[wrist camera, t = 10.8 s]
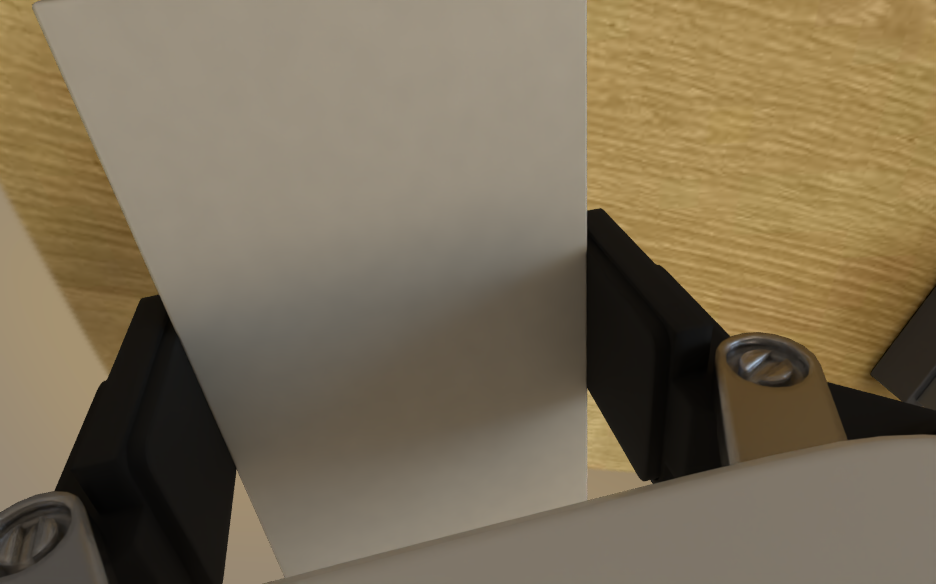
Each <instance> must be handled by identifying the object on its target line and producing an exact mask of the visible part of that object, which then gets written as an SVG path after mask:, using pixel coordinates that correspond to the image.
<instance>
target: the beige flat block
mask: <svg viewBox="0 0 936 584" xmlns="http://www.w3.org/2000/svg"><path fill="white" fill-rule="evenodd" d="M32 8H33V11H34V13H35V16H36V18H37V20H38V22H39V25H40V27H41V29H42V31H43V34H44V36H45V38H46V40H47V43H48V45H49V47H50V49H51V52H52V54H53V56H54V58H55V61H56V63H57V65H58V67H59V70H60V72H61V74H62V76H63V79H64V81H65V83H66V85H67V88H68V90H69V92H70V94H71V97H72V99H73V101H74V103H75V106H76V108H77V110H78V112H79V115H80V117H81V119H82V122H83V124H84V126H85V128H86V131H87V133H88V135H89V137H90V140H91V142H92V144H93V146H94V149H95V151H96V153H97V155H98V158H99V160H100V162H101V164H102V167H103V169H104V171H105V173H106V176H107V178H108V180H109V182H110V185H111V187H112V189H113V191H114V194H115V196H116V198H117V200H118V203H119V205H120V207H121V209H122V212H123V214H124V216H125V218H126V221H127V223H128V225H129V227H130V230H131V232H132V234H133V237H134V239H135V241H136V243H137V246H138V248H139V250H140V252H141V255H142V257H143V259H144V261H145V264H146V266H147V268H148V270H149V273H150V275H151V277H152V279H153V282H154V284H155V286H156V288H157V291H158V293H159V295H160V297H161V300H162V302H163V304H164V306H165V309H166V311H167V313H168V315H169V318H170V320H171V322H172V324H173V327H174V329H175V331H176V333H177V335H178V337H179V339H180V341H181V344H182V346H183V348H184V350H185V353H186V355H187V357H188V359H189V362H190V364H191V366H192V368H193V371H194V373H195V375H196V378H197V380H198V382H199V384H200V387H201V389H202V391H203V393H204V396H205V398H206V400H207V402H208V405H209V407H210V409H211V411H212V414H213V416H214V418H215V420H216V423H217V425H218V427H219V429H220V432H221V434H222V436H223V438H224V441H225V443H226V445H227V447H228V450H229V452H230V454H231V457H232V459H233V461H234V463H235V466H236V468H237V471H238V473H239V476H240V478H241V480H242V482H243V485H244V487H245V489H246V491H247V494H248V496H249V498H250V500H251V502H252V505H253V507H254V509H255V512H256V514H257V516H258V518H259V521H260V523H261V525H262V527H263V530H264V532H265V534H266V536H267V539H268V541H269V543H270V545H271V548H272V550H273V552H274V554H275V557H276V559H277V561H278V563H279V566H280V568H281V570H282V572H283V575H284V577H285V578H287V577H291V576H294V575H298V574H302V573H306V572H310V571H314V570H317V569H321V568H325V567H329V566H333V565H336V564H340V563H344V562H348V561H352V560H356V559H360V558H364V557H367V556H371V555H375V554H379V553H383V552H387V551H391V550H395V549H399V548H402V547H406V546H410V545H414V544H418V543H422V542H426V541H430V540H434V539H438V538H441V537H445V536H449V535H453V534H457V533H461V532H465V531H469V530H473V529H477V528H481V527H485V526H488V525H492V524H496V523H500V522H504V521H508V520H512V519H516V518H520V517H524V516H528V515H532V514H535V513H539V512H543V511H547V510H551V509H555V508H559V507H563V506H567V505H571V504H575V503H579V502H583V501H587V0H40V1H38V2H35V3H34V4H32Z"/></svg>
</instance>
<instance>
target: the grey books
mask: <svg viewBox="0 0 936 584" xmlns="http://www.w3.org/2000/svg"><path fill="white" fill-rule="evenodd" d="M870 375H871V376H872V377H874V378H875V379H876V380H877V381H878V382H880V383H881V384H882V385H883V386H884V387H886V388H887V389H888V390H889V391H890V392H892V393H893V394H894V395H895V396H896V397H898V398H899V399H900V400H901V401H902V402H905V403H909V404H913V405H917V406H923V407H925V408H928V409H932V410H936V287H935V288H934V290H933V291H932V292H931V294H930V295H929V296H928V298H927V299H926V300H925V301H924V303H923V304H922V305H921V307H920V308H919V309H918V311H917V312H916V313H915V315H914V316H913V317H912V319H911V320H910V321H909V323H908V324H907V325H906V327H905V328H904V329H903V331H902V332H901V333H900V335H899V336H898V337H897V339H896V340H895V341H894V343H893V344H892V345H891V347H890V348H889V349H888V351H887V352H886V353H885V355H884V356H883V357H882V359H881V360H880V361H879V363H878V364H877V365H876V367H875V368H874V369H873V371H872V372H871V373H870Z"/></svg>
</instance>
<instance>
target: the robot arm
mask: <svg viewBox="0 0 936 584" xmlns="http://www.w3.org/2000/svg"><path fill="white" fill-rule="evenodd" d="M587 388H588V390H589V392H590V393H591V395H592V397H593V399H594V400H595V402H596V404H597V406H598V407H599V409H600V411H601V412H602V414H603V416H604V418H605V419H606V421H607V423H608V425H609V426H610V428H611V430H612V432H613V433H614V435H615V437H616V439H617V440H618V442H619V444H620V445H621V447H622V449H623V451H624V452H625V454H626V456H627V458H628V459H629V461H630V463H631V465H632V466H633V468H634V470H635V472H636V473H637V475H638V476H639V478H640V479H641V480H642V481H648V480H651V482H652V483H653V484H651V485H647V486H643V487H639V488H635V489H631V490H627V491H623V492H619V493H615V494H612V495H607V496H603V497H599V498H595V499H591V500H587V501H583V502H579V503H575V504H571V505H567V506H563V507H559V508H555V509H551V510H547V511H543V512H539V513H535V514H532V515H528V516H524V517H520V518H516V519H512V520H508V521H504V522H500V523H496V524H492V525H488V526H485V527H481V528H477V529H473V530H469V531H465V532H461V533H457V534H453V535H449V536H445V537H441V538H438V539H434V540H430V541H426V542H422V543H418V544H414V545H410V546H406V547H402V548H399V549H395V550H391V551H387V552H383V553H379V554H375V555H371V556H367V557H364V558H360V559H356V560H352V561H348V562H344V563H340V564H336V565H333V566H329V567H325V568H321V569H317V570H314V571H310V572H306V573H302V574H298V575H294V576H291V577H287V578H283V579H280V580H275V581H271V582H268V583H264V584H936V410H932V409H928V408H925V407H921V406H917V405H913V404H909V403H905V402H902V401H898V400H894V399H890V398H886V397H883V396H879V395H875V394H871V393H867V392H863V391H860V390H856V389H852V388H848V387H844V386H840V385H837V384H833V383H829V382H827V381H826V378H825V375H824V373H823V370H822V367H821V364H820V363H819V361H818V360H817V358H816V356H815V355H814V354H813V353H812V352H811V351H809V350H808V349H807V348H806V347H805V346H803V345H801V344H799V343H797V342H795V341H793V340H791V339H789V338H786V337H782V336H779V335H776V334H769V333H761V332H753V333H742V334H738V335H734V336H731V337H730V336H729V335H728V334H727V333H726V331H725V330H724V329H723V328H722V327H721V326H720V325H719V324H718V323H717V322H716V321H715V320H714V319H713V318H712V317H711V316H710V315H709V314H708V313H707V312H706V311H705V310H704V309H703V308H702V307H701V306H700V305H699V304H698V303H697V302H696V301H695V300H694V299H693V298H692V296H691V295H690V294H689V293H688V292H687V291H686V290H685V289H684V288H683V287H682V286H681V285H680V284H679V283H678V282H677V281H676V280H675V279H674V278H673V277H672V276H671V275H670V274H669V273H668V272H667V271H666V270H665V269H664V268H663V267H661V266H660V265H656V264H655V263H654V262H653V261H652V260H651V259H650V258H649V257H648V256H647V255H646V254H645V253H644V252H643V251H642V250H641V249H640V248H639V247H638V246H637V245H636V243H635V242H634V241H633V240H632V239H631V238H630V237H629V236H628V235H627V234H626V233H625V232H624V231H623V230H622V229H621V228H620V227H619V226H618V225H617V224H616V223H615V222H614V220H613V219H612V218H611V217H610V216H609V215H608V214H607V213H606V212H605V211H604V210H603V209H601V208H600V209H594V210H589V211H587ZM236 469H237V468H236V466H235V463H234V461H233V459H232V457H231V454H230V452H229V450H228V447H227V445H226V443H225V441H224V438H223V436H222V434H221V432H220V429H219V427H218V425H217V423H216V420H215V418H214V416H213V414H212V411H211V409H210V407H209V405H208V402H207V400H206V398H205V396H204V393H203V391H202V389H201V387H200V384H199V382H198V380H197V378H196V375H195V373H194V371H193V368H192V366H191V364H190V362H189V359H188V357H187V355H186V353H185V350H184V348H183V346H182V344H181V341H180V339H179V337H178V335H177V333H176V331H175V329H174V327H173V324H172V322H171V320H170V318H169V315H168V313H167V311H166V309H165V306H164V304H163V302H162V300H161V297H160V295H155V296H150V297H145V298H142V299H141V300H140V301H139V304H138V306H137V309H136V311H135V314H134V316H133V318H132V321H131V323H130V326H129V328H128V331H127V333H126V335H125V338H124V340H123V343H122V345H121V347H120V350H119V352H118V355H117V357H116V360H115V362H114V364H113V367H112V369H111V372H110V374H109V377H108V379H107V380H106V381H104V382H102V383H101V385H100V386H99V388H98V390H97V392H96V394H95V397H94V399H93V402H92V404H91V406H90V408H89V411H88V413H87V416H86V418H85V420H84V423H83V425H82V427H81V430H80V432H79V434H78V437H77V439H76V441H75V444H74V446H73V449H72V451H71V453H70V456H69V458H68V460H67V463H66V465H65V467H64V470H63V472H62V474H61V477H60V479H59V481H58V484H57V486H56V489H55V491H53V492H48V493H43V494H38V495H35V496H32V497H29V498H27V499H24V500H22V501H20V502H17V503H15V504H14V505H12V506H10V507H9V508H7V509H5V510H4V511H2V512H0V584H222V583H223V576H224V569H225V560H226V552H227V544H228V535H229V527H230V519H231V511H232V502H233V494H234V486H235V478H236Z"/></svg>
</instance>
